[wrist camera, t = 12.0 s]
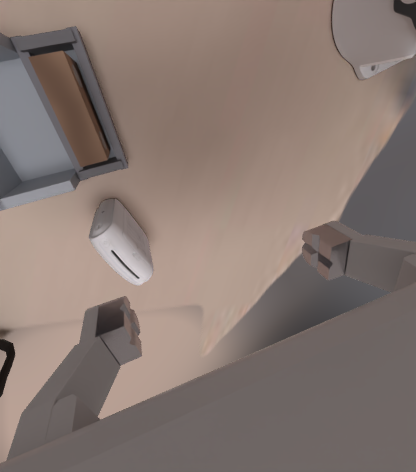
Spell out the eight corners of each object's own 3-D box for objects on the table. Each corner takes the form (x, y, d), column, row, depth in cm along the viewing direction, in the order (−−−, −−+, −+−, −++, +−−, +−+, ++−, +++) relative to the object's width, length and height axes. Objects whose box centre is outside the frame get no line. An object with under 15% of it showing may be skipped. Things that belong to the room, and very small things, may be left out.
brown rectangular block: (77, 62, 28) (64, 50, 22) (111, 148, 34) (108, 159, 27) (50, 67, 28) (27, 56, 21) (89, 154, 33) (80, 167, 27)
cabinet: (81, 35, 28) (68, 14, 22) (127, 161, 36) (129, 175, 29) (-63, 60, 26) (-128, 46, 19) (20, 190, 34) (-5, 212, 27)
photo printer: (91, 206, 38) (79, 246, 27) (115, 192, 38) (112, 226, 27) (131, 251, 43) (133, 298, 33) (151, 239, 43) (160, 281, 33)
